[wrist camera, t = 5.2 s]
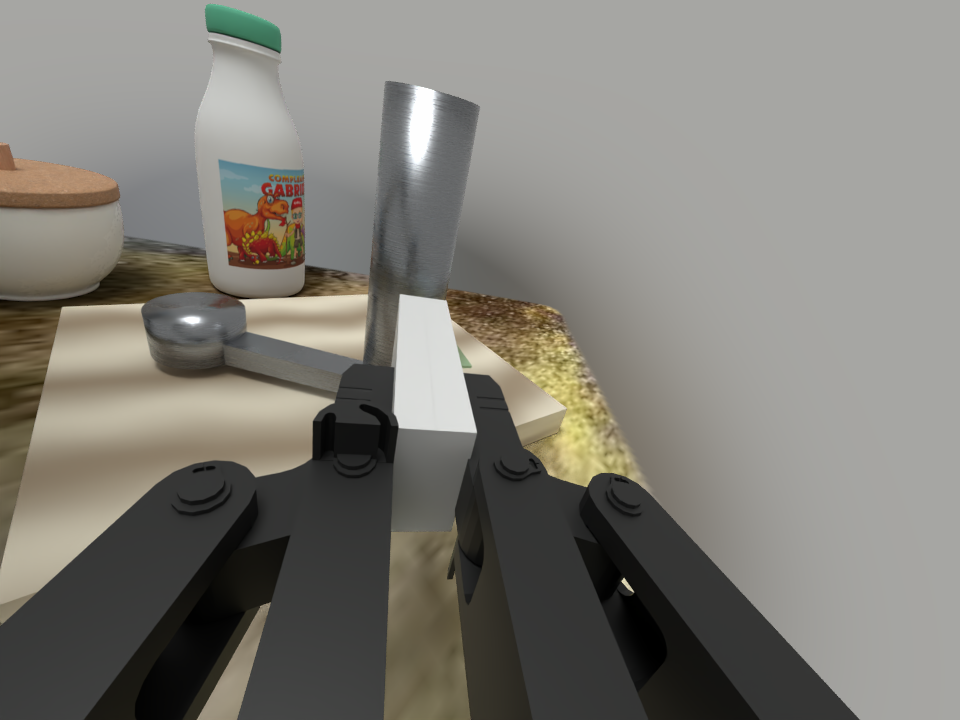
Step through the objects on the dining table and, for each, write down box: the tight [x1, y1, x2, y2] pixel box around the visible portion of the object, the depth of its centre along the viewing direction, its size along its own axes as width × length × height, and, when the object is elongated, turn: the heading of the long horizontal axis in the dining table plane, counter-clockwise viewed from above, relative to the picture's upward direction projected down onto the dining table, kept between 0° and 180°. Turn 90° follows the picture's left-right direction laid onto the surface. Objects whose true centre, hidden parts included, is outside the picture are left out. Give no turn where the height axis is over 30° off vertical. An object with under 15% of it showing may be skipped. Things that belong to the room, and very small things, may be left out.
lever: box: [141, 81, 480, 393], centre depth 18 cm, size 16×4×14 cm, turn 82°
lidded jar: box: [0, 142, 124, 301], centre depth 26 cm, size 11×11×9 cm
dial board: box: [0, 295, 567, 624], centre depth 24 cm, size 20×24×2 cm
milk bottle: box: [195, 4, 305, 299], centre depth 32 cm, size 8×8×20 cm
